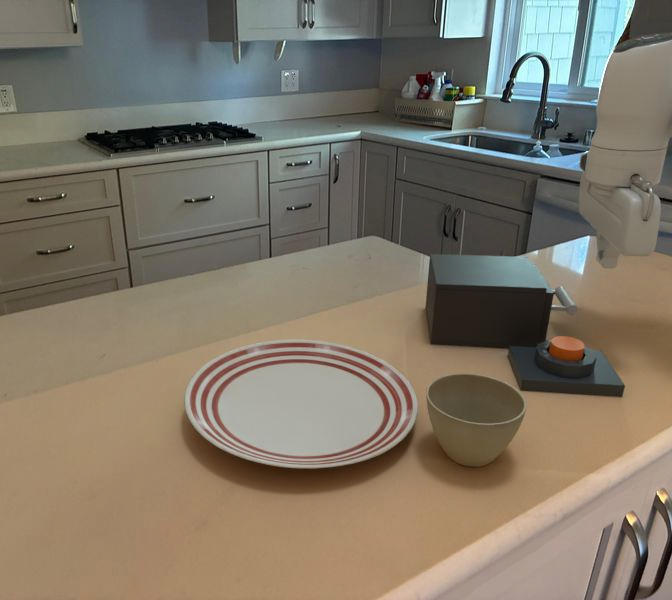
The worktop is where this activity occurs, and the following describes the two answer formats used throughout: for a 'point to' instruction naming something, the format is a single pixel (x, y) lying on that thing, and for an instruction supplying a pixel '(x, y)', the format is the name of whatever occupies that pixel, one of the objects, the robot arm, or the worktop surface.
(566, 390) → the control pad
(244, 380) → the dinner plate
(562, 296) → the drawer
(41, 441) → the worktop surface
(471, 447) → the olive beige bowl
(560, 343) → the button
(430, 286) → the dark grey box
